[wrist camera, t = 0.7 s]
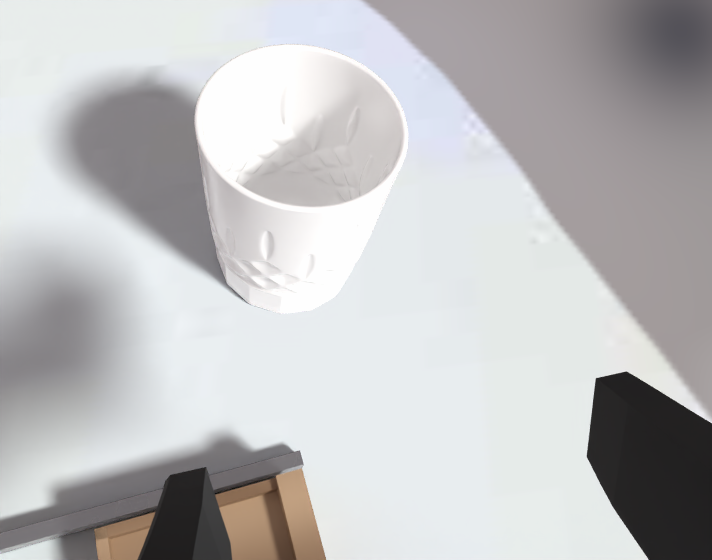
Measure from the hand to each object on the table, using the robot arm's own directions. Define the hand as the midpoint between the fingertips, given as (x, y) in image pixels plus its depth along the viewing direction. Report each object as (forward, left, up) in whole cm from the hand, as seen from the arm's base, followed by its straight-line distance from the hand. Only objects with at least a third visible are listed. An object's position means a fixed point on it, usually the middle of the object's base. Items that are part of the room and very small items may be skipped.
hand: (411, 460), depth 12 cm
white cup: (+14, -2, -17) cm, 22 cm away
